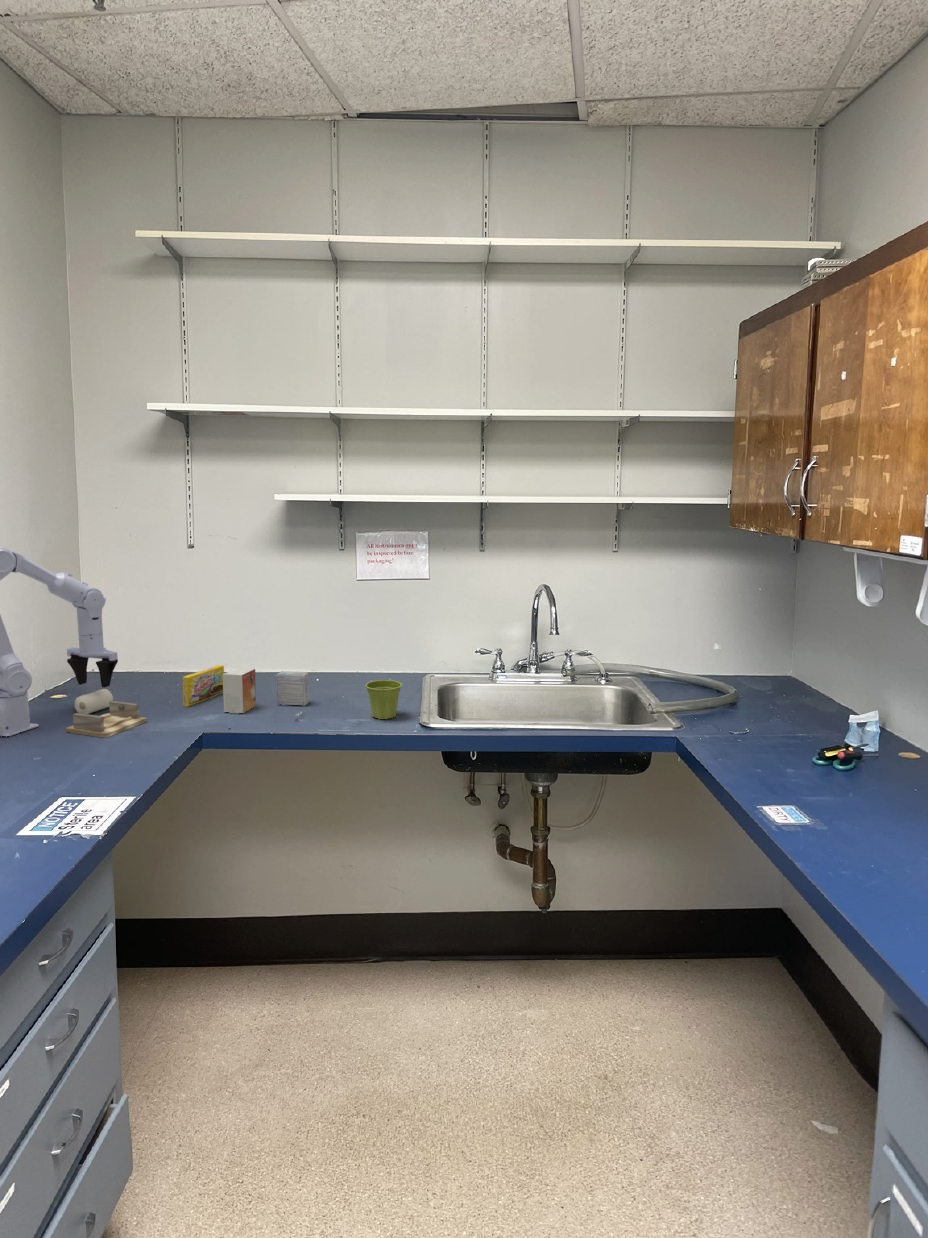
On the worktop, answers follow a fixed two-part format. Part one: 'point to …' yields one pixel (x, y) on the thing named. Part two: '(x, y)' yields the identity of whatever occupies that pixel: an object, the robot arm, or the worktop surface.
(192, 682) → the candy box
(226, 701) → the small box
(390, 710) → the plant pot
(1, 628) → the robot arm
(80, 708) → the paper roll
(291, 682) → the grey wooden crate
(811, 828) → the worktop surface
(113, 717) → the roll holder
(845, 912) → the worktop surface
